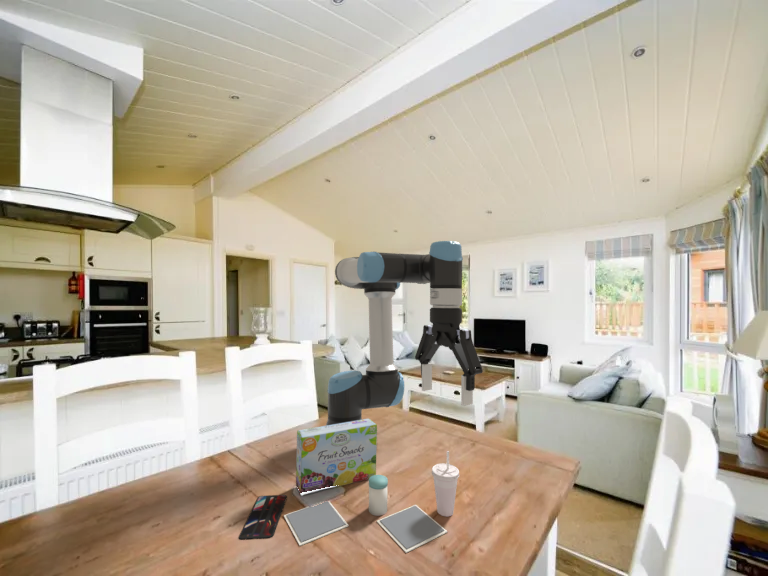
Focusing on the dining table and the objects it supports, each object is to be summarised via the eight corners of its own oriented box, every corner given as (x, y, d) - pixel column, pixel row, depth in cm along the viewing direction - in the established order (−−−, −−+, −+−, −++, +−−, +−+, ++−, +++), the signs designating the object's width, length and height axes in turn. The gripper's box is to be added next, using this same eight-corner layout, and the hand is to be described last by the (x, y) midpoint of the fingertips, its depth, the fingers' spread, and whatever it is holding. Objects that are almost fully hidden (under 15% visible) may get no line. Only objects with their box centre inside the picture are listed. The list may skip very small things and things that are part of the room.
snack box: (300, 498, 85) (301, 437, 85) (295, 487, 90) (296, 429, 90) (377, 477, 95) (377, 423, 95) (368, 468, 100) (369, 416, 100)
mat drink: (376, 521, 76) (376, 519, 76) (415, 505, 82) (415, 503, 82) (406, 553, 67) (406, 551, 67) (447, 532, 73) (447, 530, 73)
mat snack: (283, 516, 78) (283, 514, 78) (328, 500, 84) (328, 499, 84) (299, 546, 69) (299, 544, 69) (348, 526, 75) (348, 524, 75)
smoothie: (459, 522, 76) (459, 459, 76) (430, 518, 77) (430, 456, 78) (459, 504, 82) (459, 446, 83) (432, 501, 84) (432, 444, 84)
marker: (365, 507, 81) (365, 478, 81) (380, 501, 84) (381, 472, 84) (374, 518, 77) (375, 487, 77) (391, 511, 80) (391, 481, 80)
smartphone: (237, 538, 70) (258, 495, 85) (237, 542, 70) (258, 498, 85) (273, 537, 71) (287, 494, 86) (273, 540, 71) (287, 497, 86)
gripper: (402, 305, 89) (401, 386, 89) (475, 309, 68) (475, 415, 68) (424, 305, 93) (424, 382, 93) (499, 308, 72) (499, 408, 72)
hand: (445, 396), depth 80 cm, fingers open, 13 cm apart
